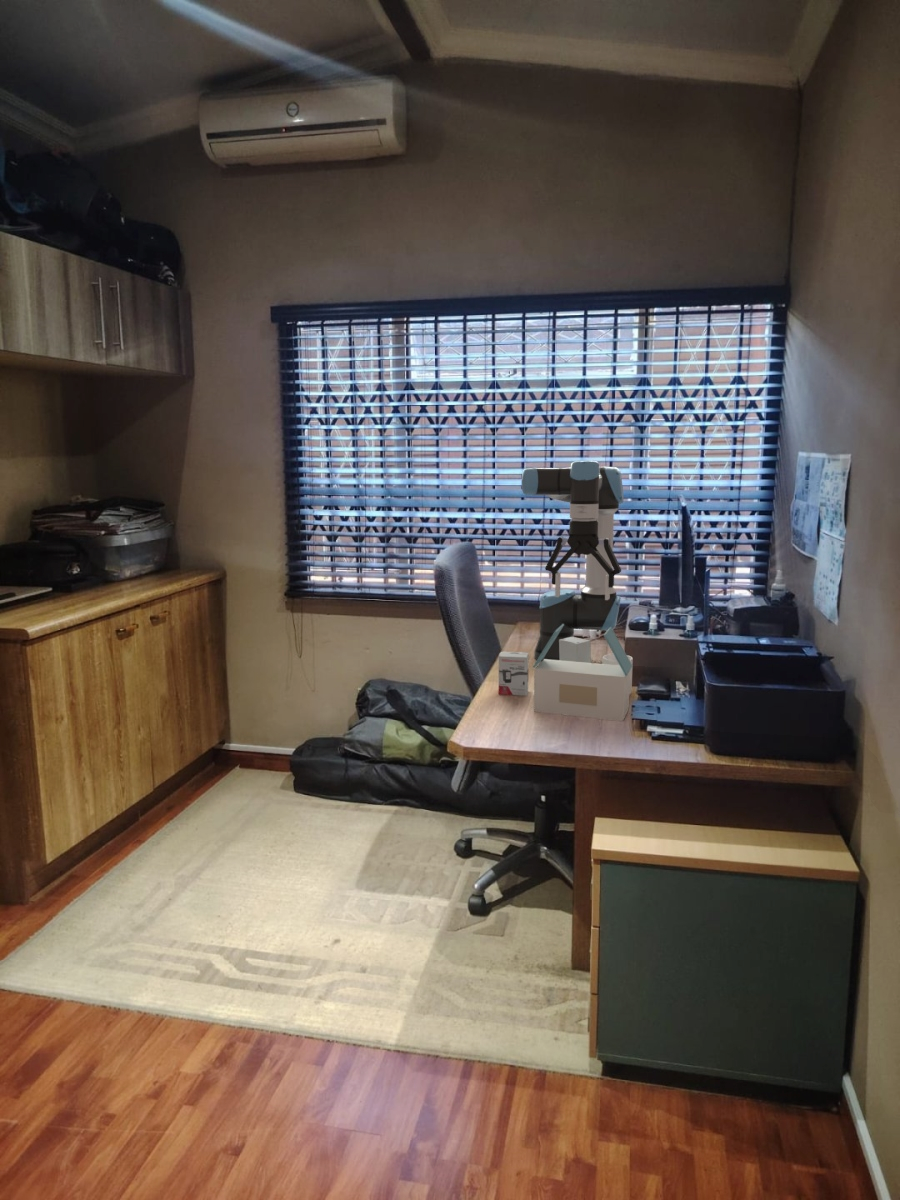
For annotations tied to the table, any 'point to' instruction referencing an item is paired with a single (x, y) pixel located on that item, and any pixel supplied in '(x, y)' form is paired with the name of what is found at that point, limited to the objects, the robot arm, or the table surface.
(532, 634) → the table surface
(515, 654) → the ink box
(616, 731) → the table surface
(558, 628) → the flap
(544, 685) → the carton
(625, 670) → the flap
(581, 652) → the skincare box
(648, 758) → the table surface
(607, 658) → the mug
